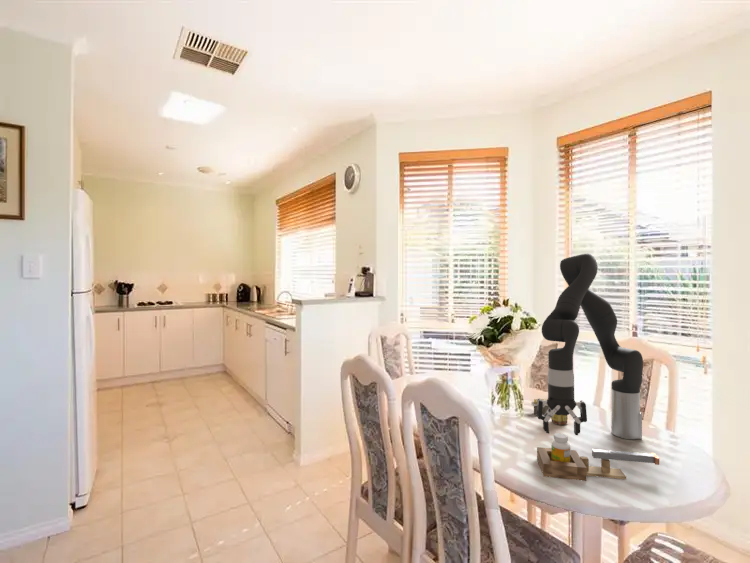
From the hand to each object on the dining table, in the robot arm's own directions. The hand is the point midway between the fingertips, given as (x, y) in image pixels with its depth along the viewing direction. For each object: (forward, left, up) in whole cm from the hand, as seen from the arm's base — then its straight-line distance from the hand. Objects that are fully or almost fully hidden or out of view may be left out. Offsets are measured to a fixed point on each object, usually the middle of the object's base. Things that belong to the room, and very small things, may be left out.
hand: (561, 433), depth 126 cm
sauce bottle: (-8, -42, -12) cm, 44 cm away
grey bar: (-18, 0, -7) cm, 19 cm away
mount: (-12, 0, -12) cm, 16 cm away
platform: (-3, -53, -12) cm, 54 cm away
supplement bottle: (0, 0, -11) cm, 11 cm away
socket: (0, 0, -12) cm, 12 cm away
